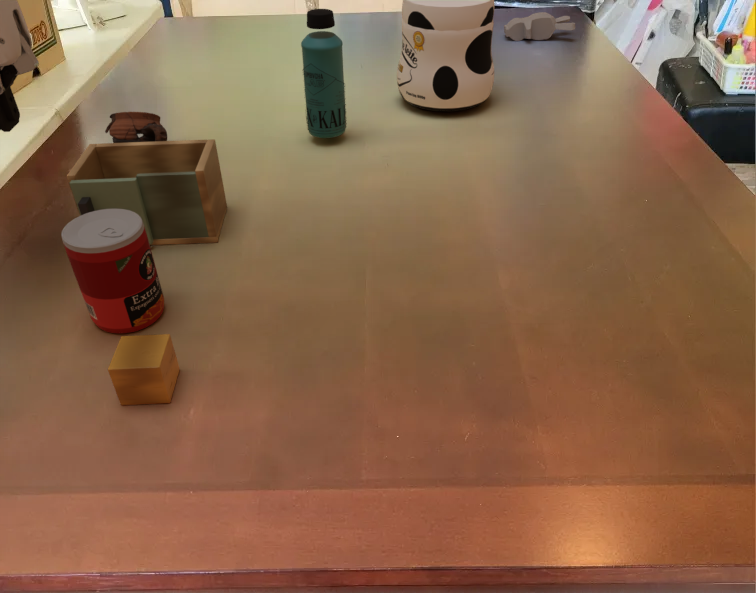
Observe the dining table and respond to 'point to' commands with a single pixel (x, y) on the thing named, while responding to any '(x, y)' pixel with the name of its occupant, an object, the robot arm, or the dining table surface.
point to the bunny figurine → (536, 26)
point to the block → (144, 369)
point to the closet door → (110, 197)
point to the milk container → (446, 53)
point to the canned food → (114, 269)
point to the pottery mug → (136, 127)
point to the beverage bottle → (323, 77)
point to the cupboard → (165, 184)
